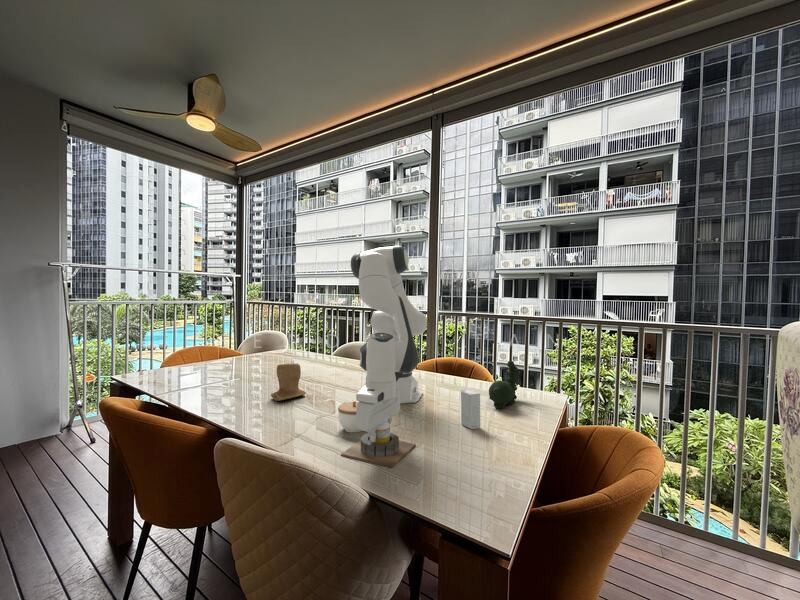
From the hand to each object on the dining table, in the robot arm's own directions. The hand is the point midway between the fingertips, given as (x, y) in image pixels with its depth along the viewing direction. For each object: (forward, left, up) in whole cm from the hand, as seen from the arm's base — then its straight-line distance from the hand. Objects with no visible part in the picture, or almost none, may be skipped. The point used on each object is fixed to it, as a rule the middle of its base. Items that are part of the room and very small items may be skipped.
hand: (379, 436), depth 109 cm
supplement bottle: (0, 0, -4) cm, 4 cm away
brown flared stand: (-29, -62, -4) cm, 69 cm away
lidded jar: (-11, -16, -4) cm, 20 cm away
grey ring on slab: (0, 0, -4) cm, 4 cm away
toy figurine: (-65, +24, -4) cm, 69 cm away
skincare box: (-33, +18, -4) cm, 38 cm away
